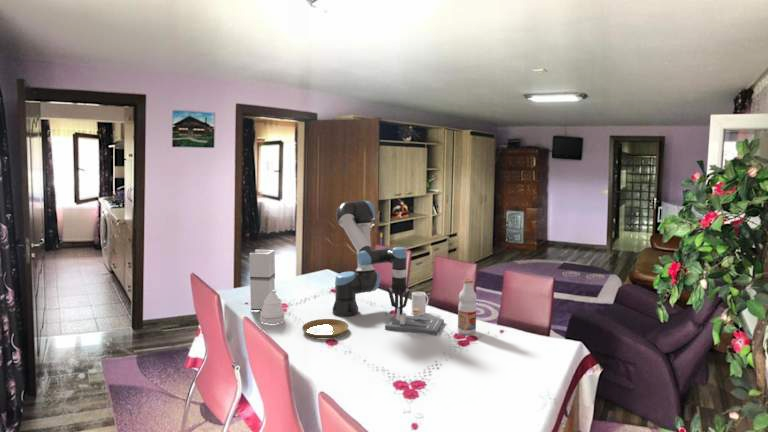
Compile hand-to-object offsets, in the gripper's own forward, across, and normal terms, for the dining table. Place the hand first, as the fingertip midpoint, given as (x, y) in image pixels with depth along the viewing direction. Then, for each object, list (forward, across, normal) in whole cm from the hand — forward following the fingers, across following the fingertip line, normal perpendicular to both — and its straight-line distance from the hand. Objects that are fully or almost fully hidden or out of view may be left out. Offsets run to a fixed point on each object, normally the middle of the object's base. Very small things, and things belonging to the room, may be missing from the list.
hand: (398, 319), depth 282 cm
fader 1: (+2, +2, 0) cm, 3 cm away
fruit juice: (+5, +36, +5) cm, 36 cm away
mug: (+5, +6, +28) cm, 29 cm away
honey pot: (+5, -69, -12) cm, 70 cm away
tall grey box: (+5, -84, +5) cm, 85 cm away
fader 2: (+2, +7, +10) cm, 13 cm away
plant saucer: (+5, -35, -18) cm, 40 cm away
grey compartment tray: (+5, +8, +5) cm, 10 cm away
